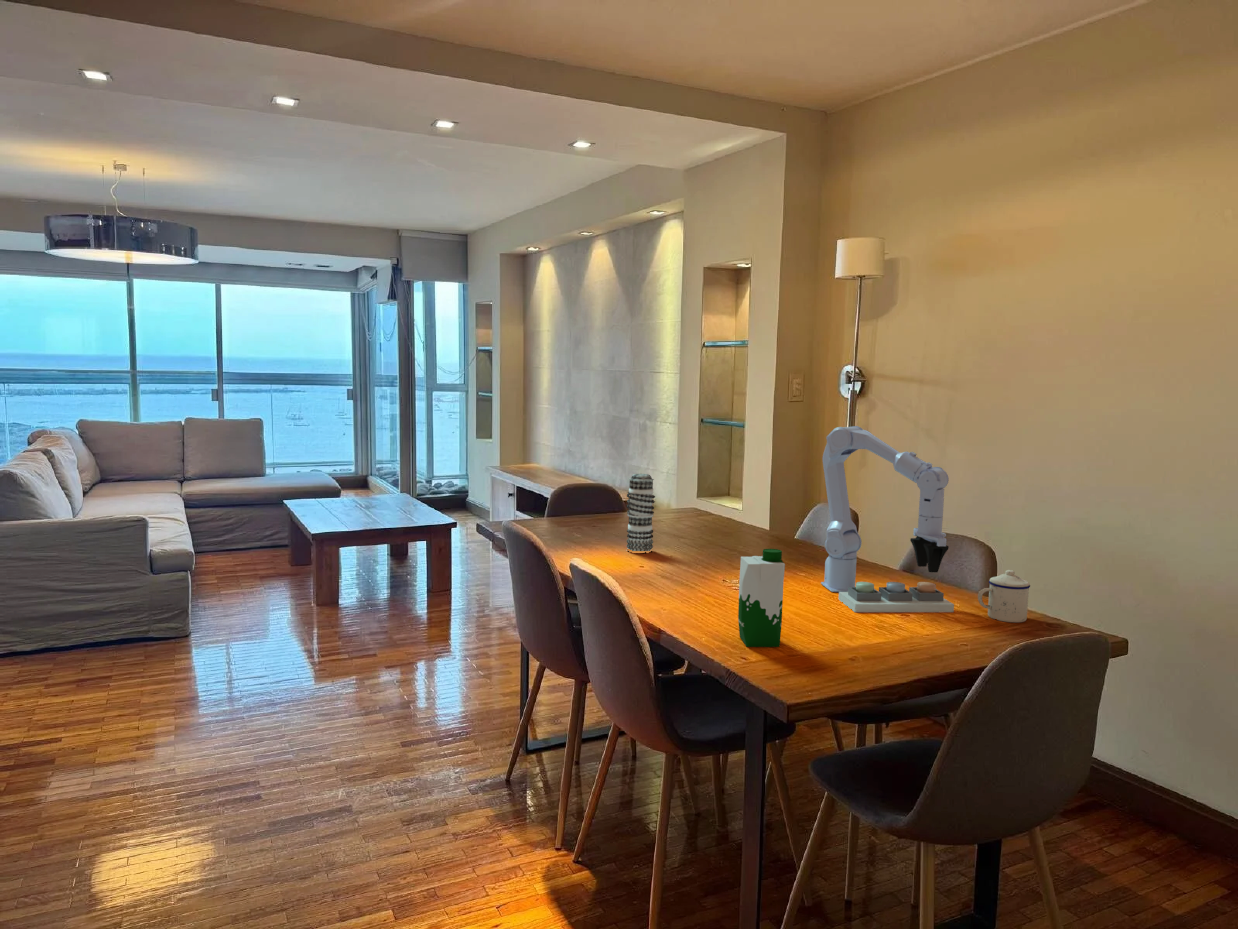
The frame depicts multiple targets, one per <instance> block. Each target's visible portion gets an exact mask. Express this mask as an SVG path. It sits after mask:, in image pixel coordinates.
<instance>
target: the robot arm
mask: <svg viewBox="0 0 1238 929" xmlns="http://www.w3.org/2000/svg"><path fill="white" fill-rule="evenodd" d="M825 438H826V445H825V447H824V451H823V454H822V466H823V472H824V473H823V474H824V481H825V489H826V496H827V505H828V511H829V520H830V523H829V525H828V527H827V529H826V538H825V541H824V542H825V543H824V548H825V551H826V552H827V554H828V557H826V559H825V562H824V578H823V579H824V581H821V582H820V584H821V585H822V586H824V587H825V588H826V589H827V590H828V591H830V592H831V593H833V592H834V593H839V592H848V587H856V576H857V555H858V554H857V552H858V551H859V550H860V549H861V548H862V544H863V543H862V537H861V535H860V534H859V532H858V529H857V525H856V524H855V522H853V520H852V516H851V515H852V514H851V509H850V501H849V493H848V487H847V478H846V471H845V461H846V460H848V458H849V457H850V456H851V454H854V453H855V452H856V451H859V450H867V451H869V452H871V453H873V454H875V455H877V456H879V457H880V458H882V459H883V460H885V461H888V462H889V463H891V464H892V466H893V469H894V471H896V472H897V473H899V474H900V475H902V476H903V477H905V478H907V479H909V480H910V481H912V482H913V483H915V484H916V486H917V488H919V501H918V502H919V503H918V504H919V505H918V519H917V520H918V521H917V522H918V523H917V527H914V528H913V532H912V533H913V534H912V535H913V536H915V537H912V538H909V539H910V543H911V544H912V547H913V551H914V554H915V559H916V565H917V567H921V568H922V567H924V568H925V567H927V569H928V573H938V572H939V569H940V566H941V564H942V560H943V559H944V556H945V555H946V554H947V552H948V550H949V549H950V548H949V547H950V546H949V545H947V538H946V537H947V533H945V532H943V523H944V522H943V521H944V520H943V518H944V504H945V503H944V502H945V498H944V497H945V488H947V485H948V483H949V474H948V472H946V471H945V470H944V468H942V467H940V466H934V467H933V463H931V462H926V461H924V460H922V459H921V458H919V457H918V456H917V453H915V451H910V452H909V451H903V452H900V451H898V450H897V449H895V448H894V447H892V446H891V445H890V444H887V443H886V442H884V441H883V440H882V439H880V438H879V437H877V436H875V435H874V434H872V433H871V432H870V431H868V430H866V429H863V428H862V427H860V426H858V425H854V426H853V425H852V426H844V427H843V426H838V427H835V428H833V430H831V431H830V433H829V434H827V436H825Z"/></svg>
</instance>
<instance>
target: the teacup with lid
mask: <svg viewBox="0 0 1238 929" xmlns="http://www.w3.org/2000/svg"><path fill="white" fill-rule="evenodd" d="M988 583H989V587H984V588H982V589H981V590H979V591H978V594H977V600H978V602H979V605H980V606H981V607H982V608H985V609H987V616H988V617H989V618H991V619H992V620H995V619H997V620H996V621H1000V622H1005V623H1015V624H1016V623H1025V622H1026V621H1027V618H1028V607H1029V605H1028V604H1029V593H1030V592H1029V590H1030V588H1031V585H1030V582H1029V581H1028V580H1025V579H1023V578H1022V577H1020V576H1019V575H1017V574H1015V571H1014V570H1012V569H1007V570H1005V573H1002V574H999V575H998V576H992V577H990V578H989V581H988ZM985 593H988V604H985V602H983V596H984V594H985Z"/></svg>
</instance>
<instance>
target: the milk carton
mask: <svg viewBox="0 0 1238 929" xmlns="http://www.w3.org/2000/svg"><path fill="white" fill-rule="evenodd" d="M782 558H783V551H782V550H781V549H778V548H764V549H763V550H762V555H761V556H760V555H759V556H758V555H752V556H740V565H739V566H740V567H739V568H740V569H739V583H738V584H739V585H738V609H737V610H738V611H737V614H738V616H737V620H738V632H739V638H740V640H741V641H742V643H743V644H744V645H745V647H747V648H776V647H777V648H780V644H781V636H782V635H781V634H782V625H783V624H782V623H783V606H784V605H783V603H784V602H783V601H784V600H783V599H784V598H783V597H784V579H785V567H786V564H785V562H784V561H783V559H782Z"/></svg>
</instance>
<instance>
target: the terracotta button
mask: <svg viewBox="0 0 1238 929" xmlns="http://www.w3.org/2000/svg"><path fill="white" fill-rule="evenodd" d="M916 587H917V591H919V592H920V593H935V592H936V589H937V585H936V584H935V583H933V582H928V581H919V582H917V586H916Z"/></svg>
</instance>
